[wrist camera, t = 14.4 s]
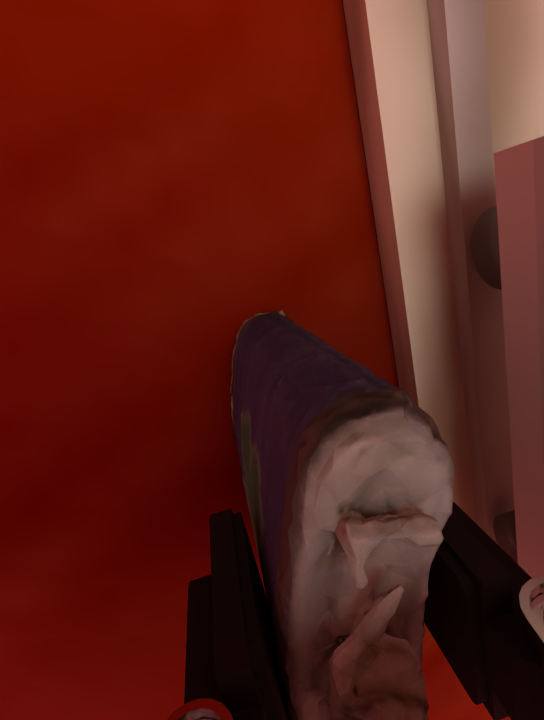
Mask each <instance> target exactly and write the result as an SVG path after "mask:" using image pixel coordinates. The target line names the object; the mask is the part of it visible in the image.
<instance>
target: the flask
mask: <svg viewBox="0 0 544 720" xmlns="http://www.w3.org/2000/svg"><path fill="white" fill-rule="evenodd" d="M231 362H232V363H233V364H232V365H231V367H232V380H231V385H230V390H231V391H230V393H231V394H232V396H231V397H232V400H231V404H230V405H231V407H232V409H231V417H232V418H233V433H234V435H233V436H234V439H235V441H236V444H237V449H238V454H239V459H240V467H241V473H242V478H243V485H244V489H245V494H246V500H247V504H248V509H249V513H250V517H251V522H252V529H253V533H254V538H255V542H256V547H257V552H258V556H259V561H260V566H261V571H262V575H263V581H264V587H265V591H266V596H267V601H268V606H269V612H270V617H271V624H272V630H273V635H274V640H275V646H276V654H277V661H278V668H279V672H280V677H281V682H282V687H283V693H284V699H285V703H286V706H287V709H288V713H289V717H290V720H428V715H427V711H428V708H429V706H428V703H427V700H426V697H425V676H424V675H423V674H422V671H421V668H422V645H423V637H424V633H425V629H424V623H423V620H424V610H425V600H426V598H427V597H428V579H429V572H430V566H431V563H432V561H433V559H434V556H435V554H436V552H437V550H438V547H439V546H440V544H441V543H442V541H443V539H444V538H443V535H442V532H441V531H442V529H443V528H444V526H445V524H446V522H447V520H448V518H449V516H450V515H451V514H452V504H453V489H452V486H453V475H454V465H453V462H452V458H451V455H450V452H449V448H448V445H447V444H446V443H445V442H444V441H443V440H442V438H441V436H440V433H439V430H438V428H437V425H436V424H435V422H434V420H433V419H432V417H431V416H430V415H429V414H427V413H426V412H425V411H424V410H422V409H421V408H420V407H418V406H417V405H416V404H415V403H414V402H413V400H412V398H411V396H410V394H409V393H407V392H406V391H405V390H403V389H401V388H398V387H396V386H393V385H391V384H390V383H388V382H387V381H386V380H384V379H381V378H378V377H376V376H375V375H374V374H373V373H372V372H371V371H370V370H369V369H368V368H366V367H364V366H362V365H360V364H359V363H357V362H355V361H353V360H352V359H351V358H349V357H348V356H344V355H343V354H341V353H339V352H338V351H337V350H336V349H335V348H334V347H331V346H329V345H327V344H326V343H325V342H324V341H323V340H322V339H319V338H318V337H316V336H314V335H313V334H311V333H310V332H308V331H307V330H305V329H304V328H302V327H299V326H297V325H296V324H295V323H294V322H293V321H291V320H290V319H288V318H287V317H286V316H285V314H284V312H283V310H282V311H280V312H279V313H277V312H271V313H269V312H268V313H258V314H256V315H255V316H253V317H252V318H250V319H248V320H246V321H245V322H244V323H243V325H242V327H241V328H240V330H239V332H238V334H237V336H236V345H235V347H234V350H233V355H232V360H231Z"/></svg>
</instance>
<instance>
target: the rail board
mask: <svg viewBox="0 0 544 720" xmlns="http://www.w3.org/2000/svg"><path fill="white" fill-rule="evenodd" d="M343 6H344V13H345V20H346V27H347V34H348V41H349V47H350V54H351V61H352V68H353V75H354V82H355V89H356V95H357V102H358V109H359V116H360V123H361V130H362V137H363V143H364V150H365V157H366V164H367V171H368V178H369V185H370V191H371V198H372V205H373V212H374V219H375V226H376V233H377V239H378V246H379V253H380V260H381V267H382V274H383V281H384V287H385V294H386V301H387V308H388V315H389V322H390V329H391V335H392V342H393V349H394V356H395V363H396V370H397V377H398V383H399V388H401V389H403V390H405V391H406V392H407V393H409V394H410V396H411V398H412V400H413V402H414V403H415V404H416V405H417V406H418V407H420V408H421V409H422V410H424V411H425V412H426V413H427V414H429V415H430V416H431V417H432V419H433V420H434V422H435V424H436V425H437V428H438V430H439V433H440V436H441V438H442V440H443V441H444V442H445V443H446V444H447V445H448V448H449V452H450V455H451V458H452V462H453V465H454V475H453V486H452V489H453V502H455V503H456V504H457V505H458V506H459V507H460V508H461V509H462V510H463V511H464V512H465V513H466V514H467V515H468V516H469V517H470V518H471V519H472V520H473V521H474V522H475V523H476V524H477V525H478V526H479V527H480V528H481V529H482V530H483V531H484V532H485V533H486V534H487V535H488V536H490V537H491V538H492V539H493V540H494V541H495V542H496V543H497V541H496V538H495V535H494V530H493V520H494V518H495V517H496V516H497V515H500V514H503V513H506V512H509V511H511V510H514V509H515V507H514V490H513V473H512V456H511V439H510V422H509V405H508V388H507V371H506V354H505V337H504V320H503V303H502V290H500V289H495V288H493V287H491V286H489V285H488V284H487V283H486V282H485V281H484V280H483V279H482V278H481V277H480V275H479V274H478V272H477V270H476V268H475V265H474V262H473V259H472V253H471V237H472V232H473V229H474V226H475V224H476V221H477V220H478V218H479V217H480V216H481V214H482V213H483V212H485V211H486V210H487V209H489V208H492V207H495V206H497V202H496V185H495V168H494V153H496V152H499V151H502V150H504V149H507V148H510V147H513V146H516V145H519V144H522V143H525V142H528V141H530V140H533V139H536V138H539V137H542V136H544V0H343ZM497 544H498V543H497Z"/></svg>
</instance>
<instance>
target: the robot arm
mask: <svg viewBox="0 0 544 720" xmlns="http://www.w3.org/2000/svg"><path fill="white" fill-rule="evenodd" d="M441 532H442V535H443V538H444V539H443V541H442V543H441V544H440V546H439V547H438V550H437V552H436V554H435V556H434V559H433V561H432V563H431V566H430V572H429V579H428V597H427V598H426V600H425V610H424V620H423V621H424V623H425V624H426V626H427V628H428V629H429V631H430V633H431V634H432V636H433V638H434V639H435V641H436V642H437V644H438V646H439V647H440V649H441V651H442V652H443V654H444V656H445V657H446V659H447V661H448V662H449V664H450V665H451V667H452V669H453V670H454V672H455V674H456V675H457V677H458V679H459V680H460V682H461V684H462V685H463V687H464V688H465V690H466V692H467V693H468V695H469V697H470V698H471V700H472V701H473V702H474V703H475V704H476V705H478V704H481V703H483V704H484V705H485V707H486V708H487V710H488V711H489V713H490V715H491V716H492V718H493V719H494V720H500V719H503V718H505V717H508V716H509V717H510V718H511V720H544V576H538V577H536V578H532V577H531V576H529V575H528V574H527V573H526V572H525V571H524V570H523V569H522V568H521V567H520V566H519V565H518V564H517V563H516V562H515V561H514V560H513V559H512V558H511V557H510V556H509V555H508V554H507V553H506V552H505V551H504V550H503V549H502V548H501V547H500V546H499V545H498V544H497V543H496V542H495V541H494V540H493V539H492V538H491V537H490V536H488V535H487V534H486V533H485V532H484V531H483V530H482V529H481V528H480V527H479V526H478V525H477V524H476V523H475V522H474V521H473V520H472V519H471V518H470V517H469V516H468V515H467V514H466V513H465V512H464V511H463V510H462V509H461V508H460V507H459V506H458V505H457V504H456V503H455V502H453V504H452V514H451V515H450V516H449V518H448V520H447V522H446V524H445V526H444V528H443V529H442V531H441ZM210 546H211V575H208V576H205V577H202V578H199V579H196V580H193V581H190V583H189V589H188V614H187V642H186V670H185V698H184V705H183V706H182V707H180V708H179V709H177V710H176V711H174V712H173V714H172V715H171V716H170V717H169V718H168V719H167V720H290V717H289V713H288V709H287V706H286V703H285V699H284V693H283V687H282V682H281V677H280V672H279V668H278V661H277V654H276V646H275V640H274V635H273V630H272V624H271V617H270V612H269V607H268V602H267V598H266V594H265V591H264V588H263V584H262V581H261V578H260V574H259V571H258V568H257V564H256V561H255V558H254V554H253V551H252V548H251V544H250V541H249V538H248V534H247V531H246V528H245V525H244V521H243V518H242V515H241V512H239V513H236V514H233V512H232V510H231V509H228V510H225V511H222V512H219V513H216V514H212V515H210Z"/></svg>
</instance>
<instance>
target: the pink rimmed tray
mask: <svg viewBox="0 0 544 720" xmlns="http://www.w3.org/2000/svg"><path fill="white" fill-rule="evenodd" d="M494 168H495V185H496V202H497V206H495V207H492V208H489V209H487V210H486V211H485V212H483V213H482V214H481V216H480V217H479V218H478V220H477V221H476V224H475V226H474V229H473V232H472V237H471V253H472V259H473V262H474V265H475V268H476V270H477V272H478V274H479V275H480V277H481V278H482V279H483V280H484V281H485V282H486V283H487V284H488V285H489V286H491V287H493V288H495V289H500V290H502V303H503V320H504V337H505V354H506V371H507V388H508V405H509V422H510V439H511V456H512V473H513V490H514V507H515V509H514V510H511V511H509V512H506V513H503V514H500V515H497V516H496V517H495V518H494V520H493V530H494V535H495V538H496V541H497V543H498V545H499V546H500V547H501V548H502V549H503V550H504V551H505V552H506V553H507V554H508V555H509V556H510V557H511V558H512V559H513V560H514V561H515V562H516V563H517V564H518V565H519V566H520V567H521V568H522V569H523V570H524V571H525V572H526V573H527V574H528V575H529V576H531V577H532V578H536V577H538V576H544V136H542V137H539V138H536V139H533V140H530V141H528V142H525V143H522V144H519V145H516V146H513V147H510V148H507V149H504V150H502V151H499V152H496V153H494Z"/></svg>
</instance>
